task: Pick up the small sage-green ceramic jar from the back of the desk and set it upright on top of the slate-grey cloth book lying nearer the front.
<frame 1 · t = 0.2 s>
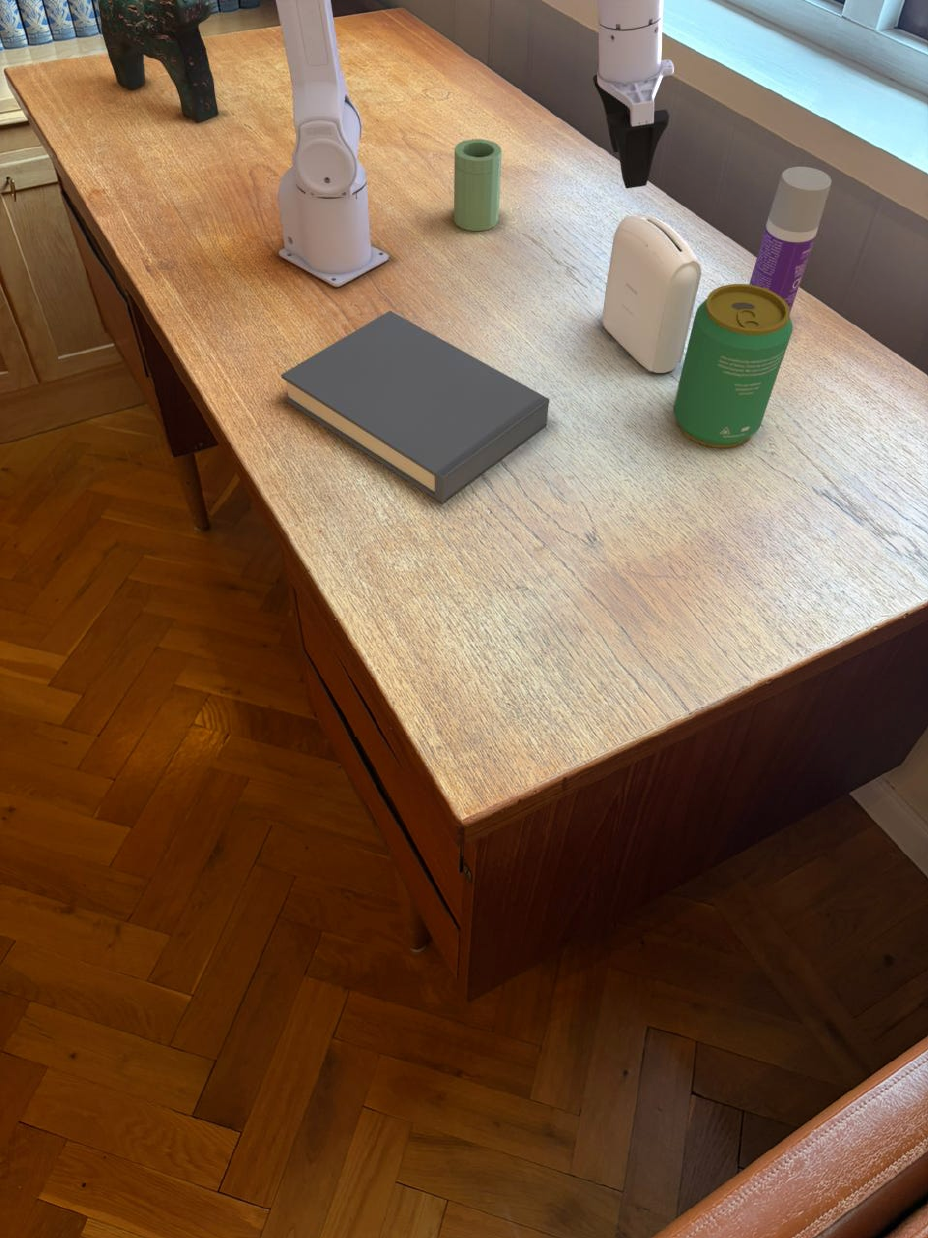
hand: (629, 166, 95), 10 cm above the table, tool pointing down, fingers open, 7 cm apart
jar: (476, 219, 108), on the table
beverage can: (714, 423, 86), on the table
book: (414, 413, 86), on the table
container: (762, 324, 97), on the table
photo printer: (639, 346, 94), on the table
ceramic cat: (167, 103, 126), on the table
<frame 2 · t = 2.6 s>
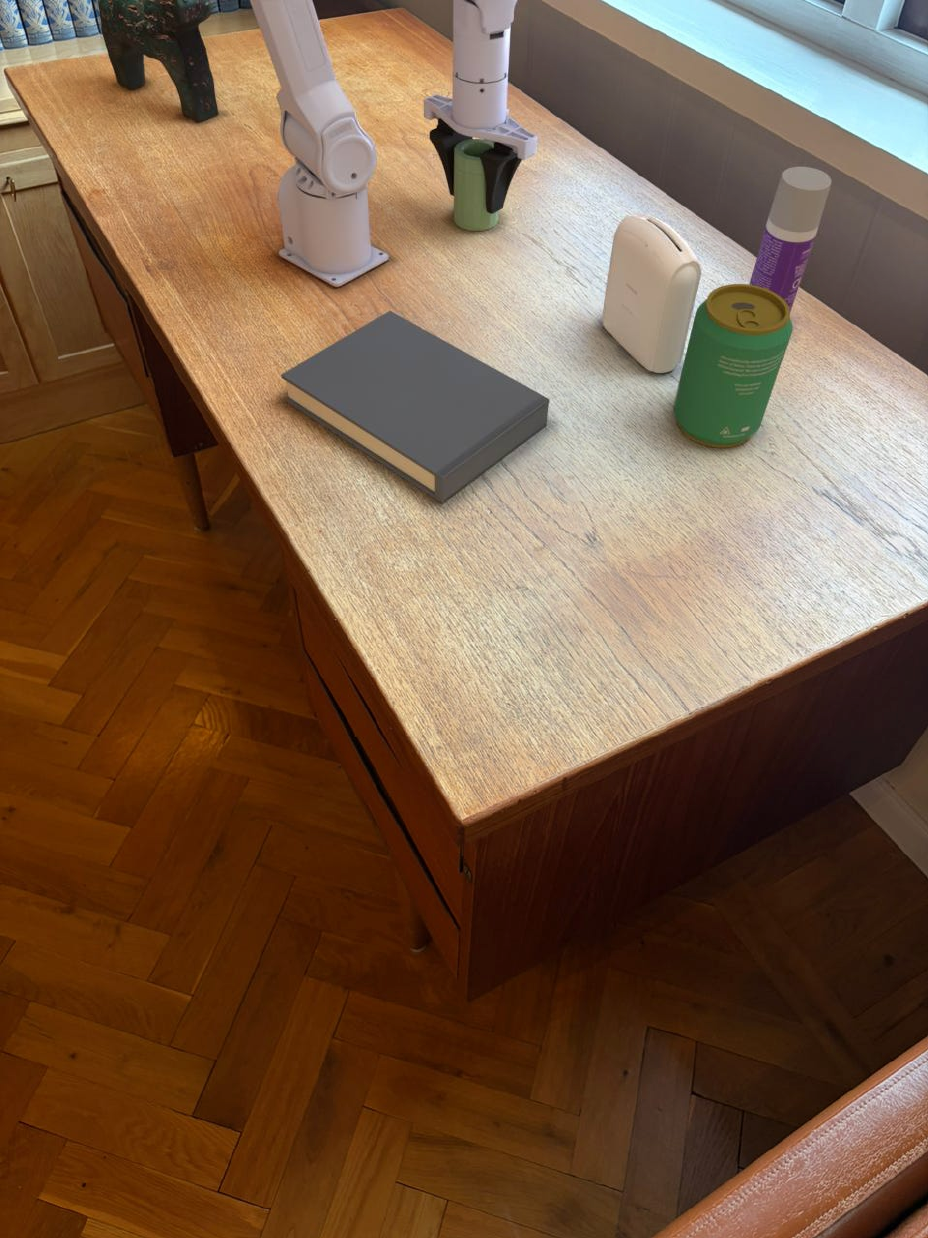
hand: (476, 201, 107), 2 cm above the table, tool pointing down, fingers closed on jar, 5 cm apart
jar: (475, 219, 108), on the table, touching gripper
everything else where it was.
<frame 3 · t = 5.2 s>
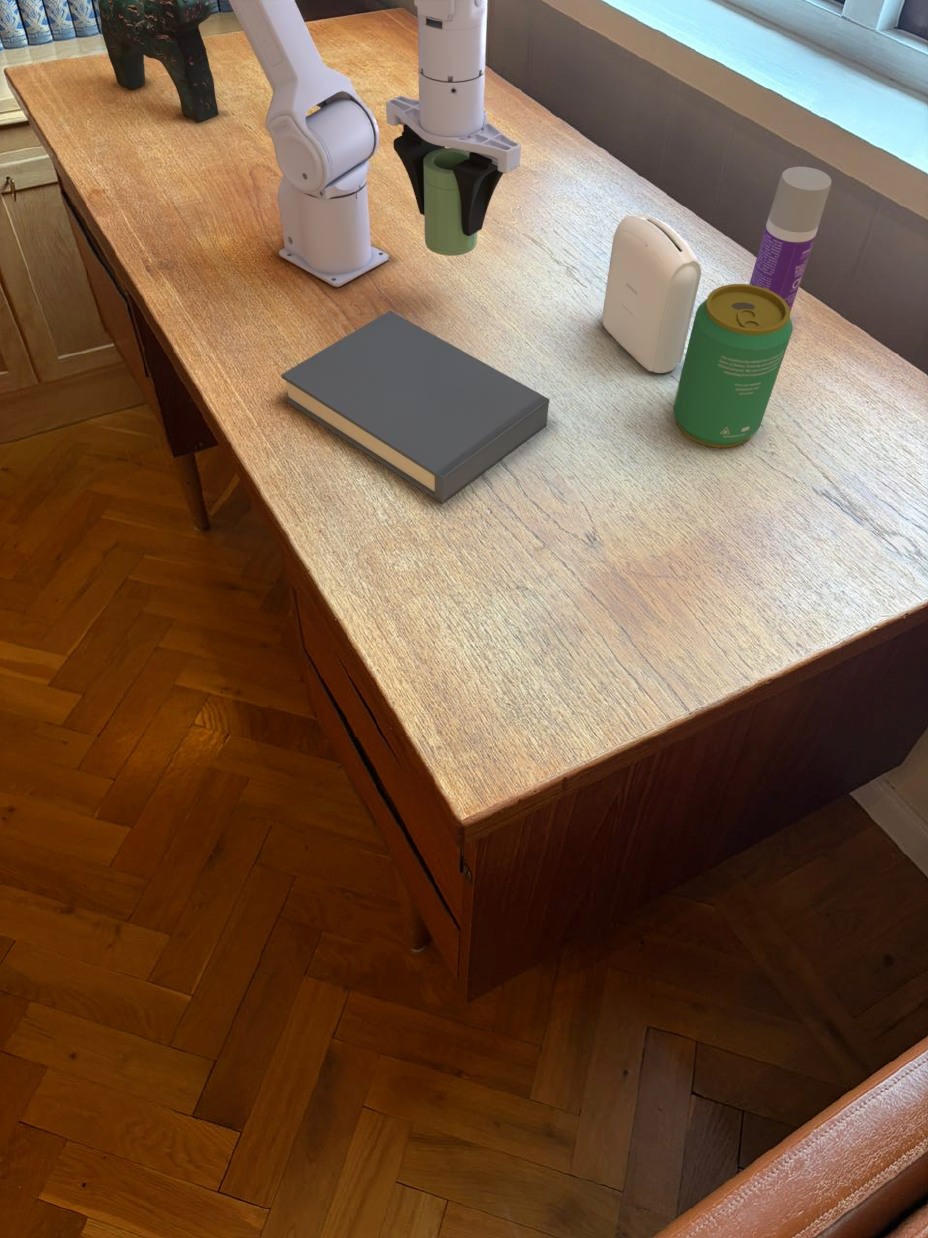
hand: (450, 220, 91), 9 cm above the table, tool pointing down, fingers closed on jar, 5 cm apart
jar: (450, 241, 92), point 7 cm above the table, touching gripper
everything else where it was.
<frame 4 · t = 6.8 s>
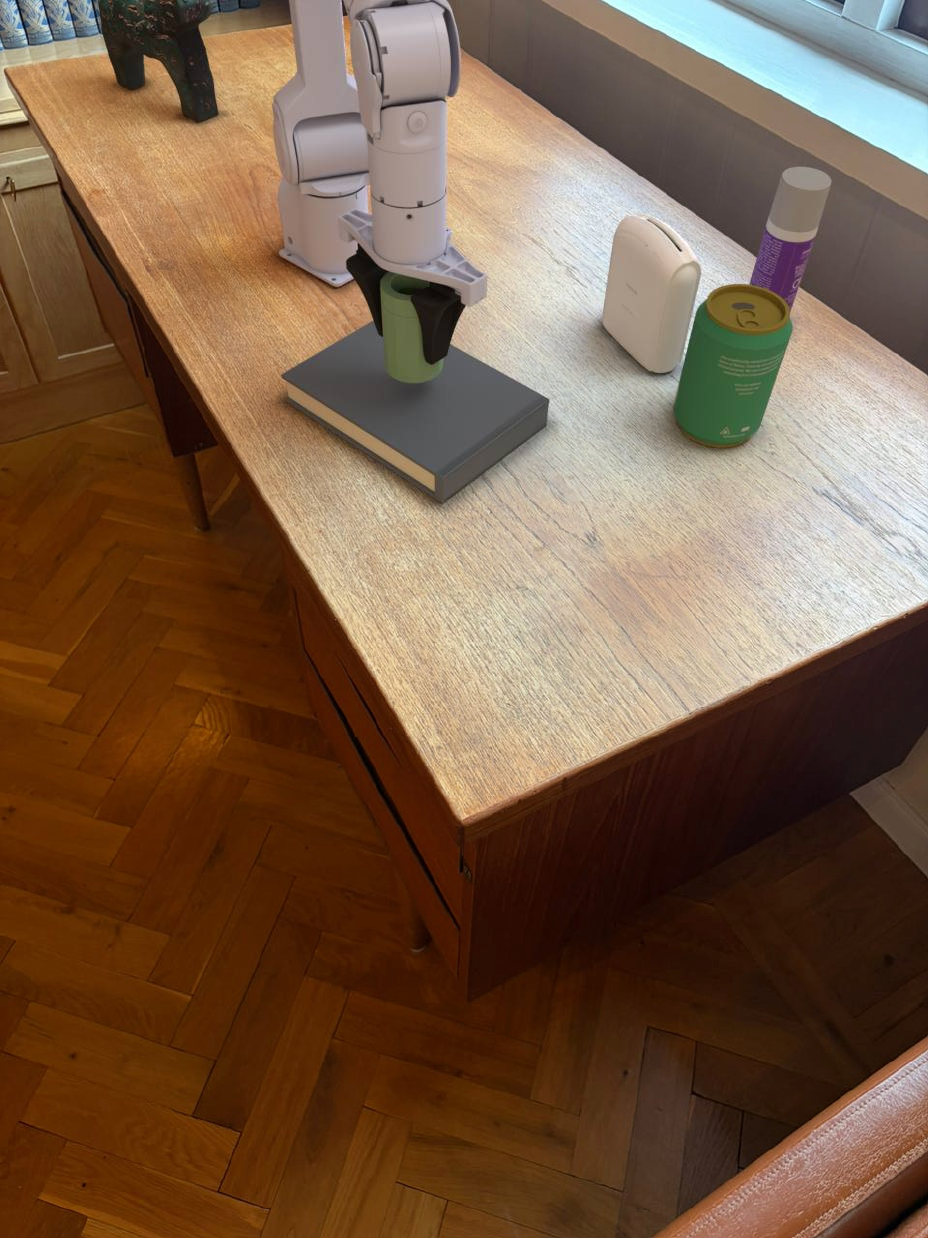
hand: (412, 344, 80), 7 cm above the table, tool pointing down, fingers closed on jar, 5 cm apart
jar: (414, 365, 82), point 5 cm above the table, touching gripper
everything else where it was.
when the fingers open (5 cm above the table, at t = 8.0 s): jar stays where it is, resting on book.
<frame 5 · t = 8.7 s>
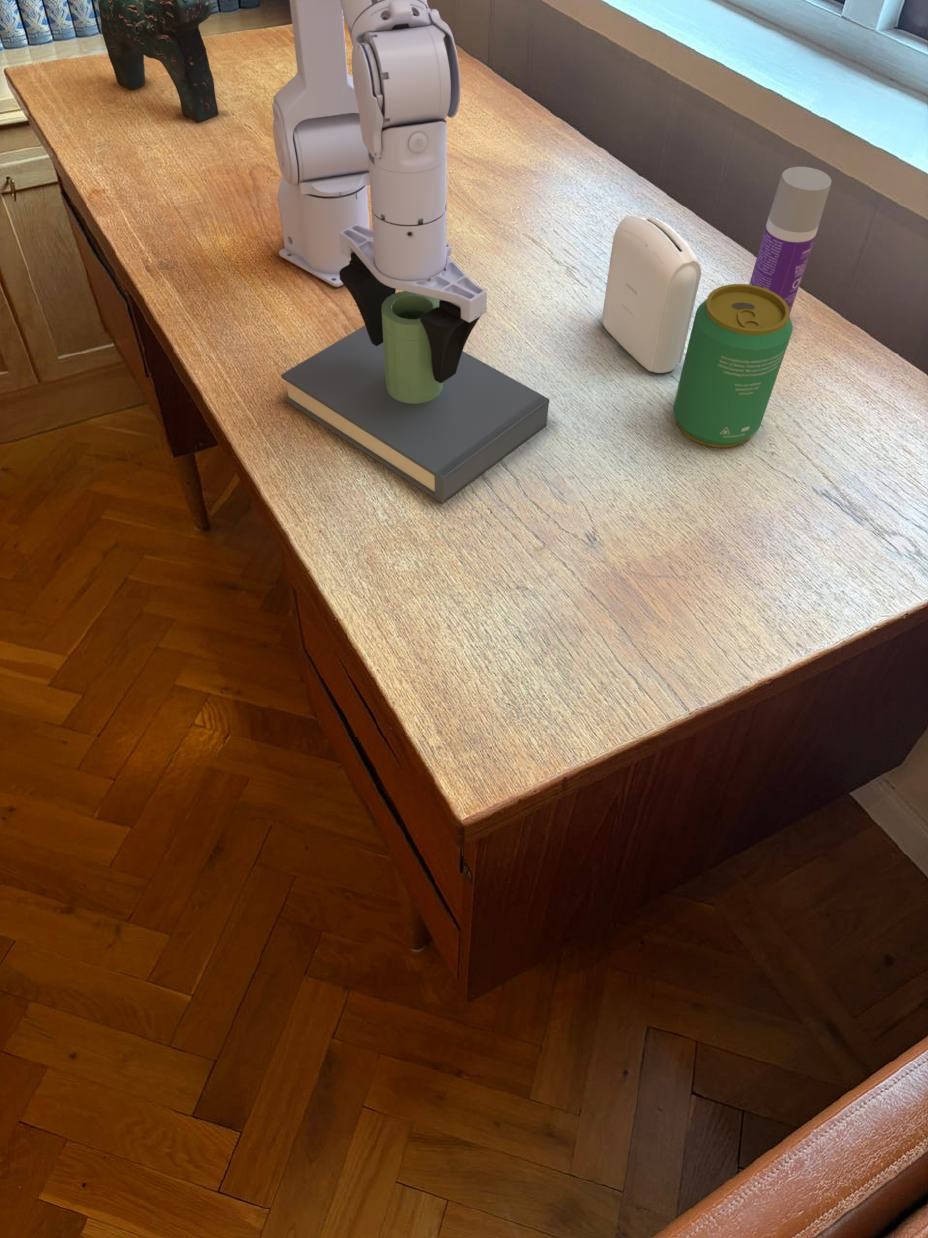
hand: (413, 357, 82), 6 cm above the table, tool pointing down, fingers open, 7 cm apart
jar: (414, 385, 84), point 3 cm above the table, touching book
everything else where it was.
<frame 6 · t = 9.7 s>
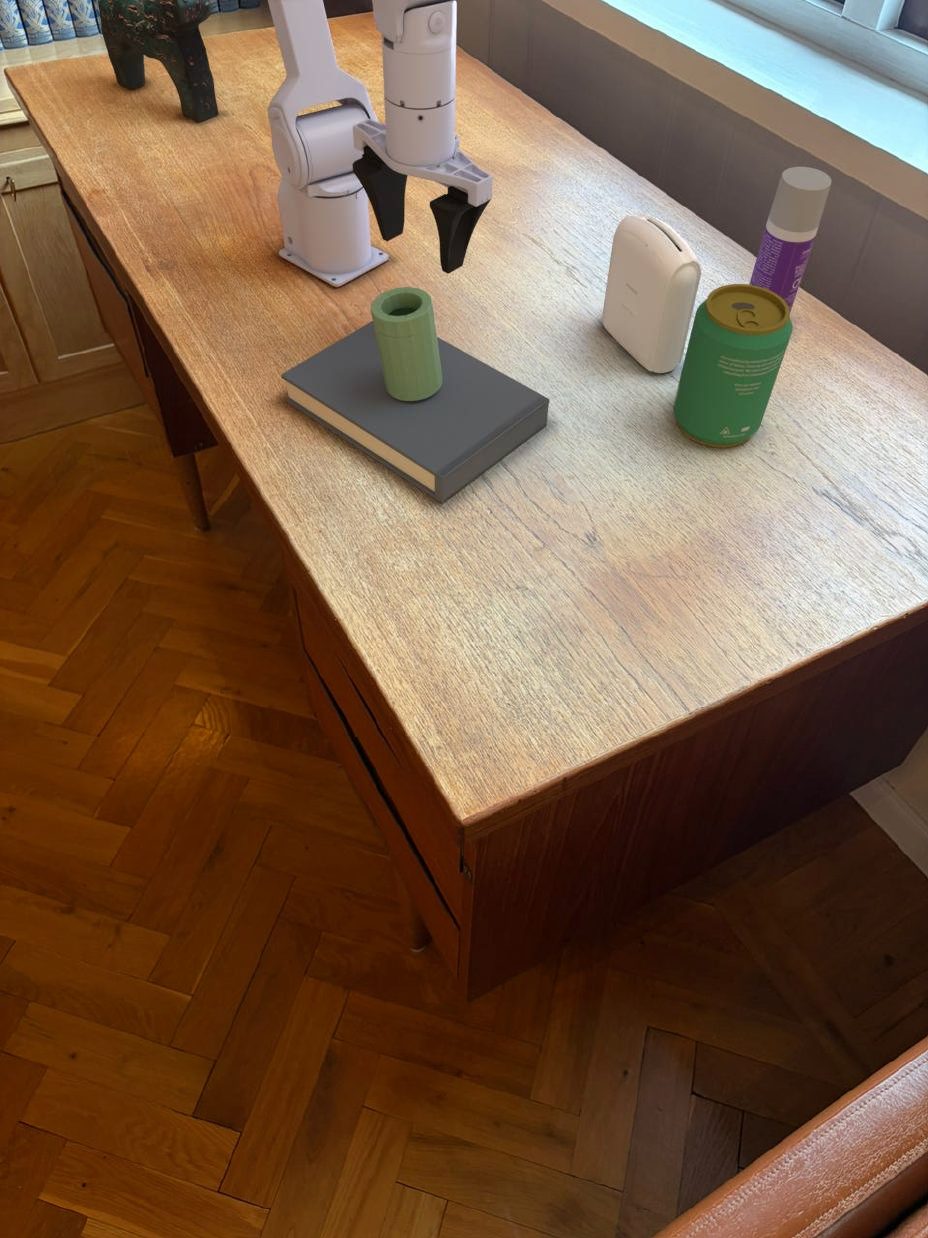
hand: (422, 251, 85), 10 cm above the table, tool pointing down, fingers open, 7 cm apart
jar: (414, 383, 84), point 3 cm above the table, tilted 6°, touching book
everything else where it was.
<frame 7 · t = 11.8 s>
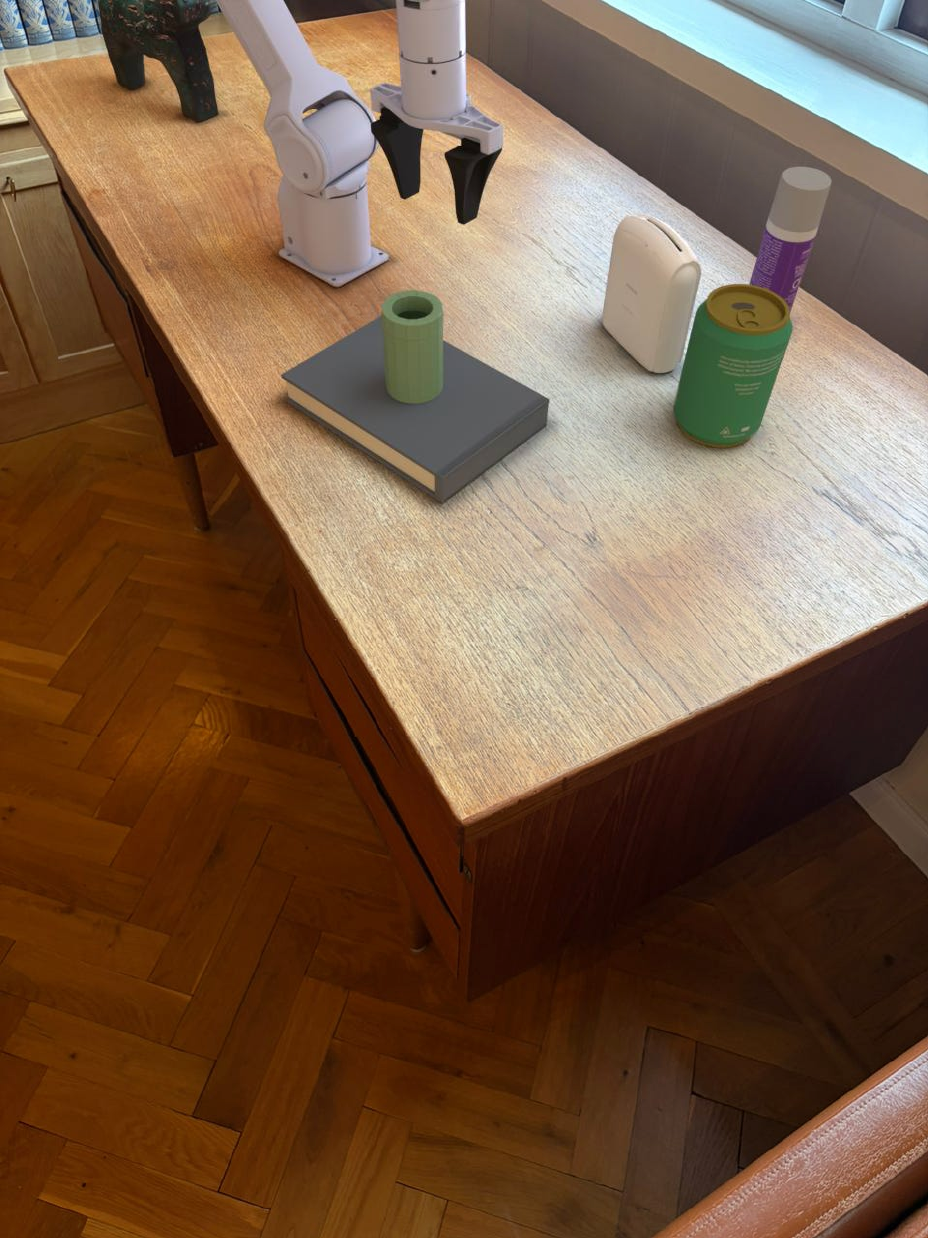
hand: (438, 207, 90), 10 cm above the table, tool pointing down, fingers open, 7 cm apart
jar: (414, 385, 84), point 3 cm above the table, touching book
everything else where it was.
at the end: jar inside the target area on the book (0.1 cm from its centre), point 3.0 cm above the book's base; jar tilted 0°; the gripper is holding nothing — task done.
